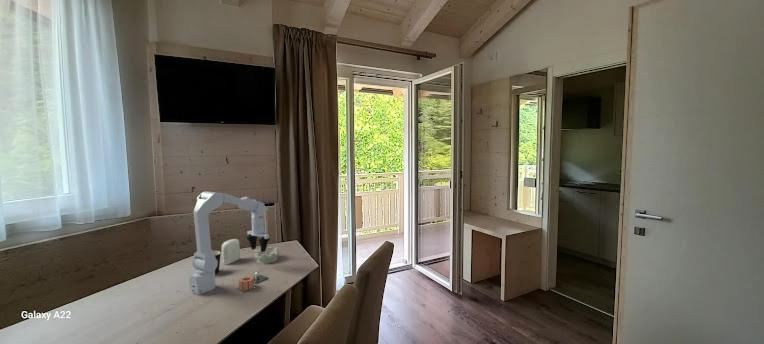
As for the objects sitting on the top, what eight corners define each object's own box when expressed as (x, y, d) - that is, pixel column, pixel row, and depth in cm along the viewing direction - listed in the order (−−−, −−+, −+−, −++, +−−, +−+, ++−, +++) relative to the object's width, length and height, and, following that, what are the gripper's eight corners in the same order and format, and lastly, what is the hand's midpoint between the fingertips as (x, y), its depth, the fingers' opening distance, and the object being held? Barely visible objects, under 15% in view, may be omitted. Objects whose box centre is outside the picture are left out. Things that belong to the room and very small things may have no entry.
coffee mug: (224, 269, 162) (224, 251, 161) (214, 276, 154) (213, 256, 153) (204, 268, 163) (203, 250, 162) (192, 275, 155) (191, 256, 154)
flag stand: (253, 258, 179) (251, 206, 176) (277, 254, 185) (275, 204, 182) (256, 265, 167) (254, 211, 165) (281, 261, 173) (279, 208, 171)
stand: (245, 294, 135) (244, 285, 135) (234, 291, 138) (234, 282, 138) (258, 288, 141) (258, 279, 141) (248, 284, 144) (248, 276, 144)
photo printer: (226, 265, 168) (225, 243, 167) (220, 264, 169) (219, 242, 168) (241, 259, 177) (240, 237, 176) (235, 258, 179) (234, 237, 178)
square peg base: (256, 286, 143) (255, 276, 143) (246, 282, 147) (245, 273, 146) (268, 280, 149) (268, 271, 149) (258, 277, 153) (258, 268, 153)
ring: (245, 291, 136) (244, 282, 135) (236, 288, 139) (236, 280, 138) (256, 286, 141) (256, 277, 140) (248, 283, 144) (247, 275, 143)
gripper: (273, 224, 161) (274, 250, 162) (255, 221, 168) (255, 245, 169) (262, 227, 155) (263, 254, 156) (243, 224, 162) (244, 249, 163)
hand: (258, 250), depth 162 cm, fingers open, 7 cm apart
